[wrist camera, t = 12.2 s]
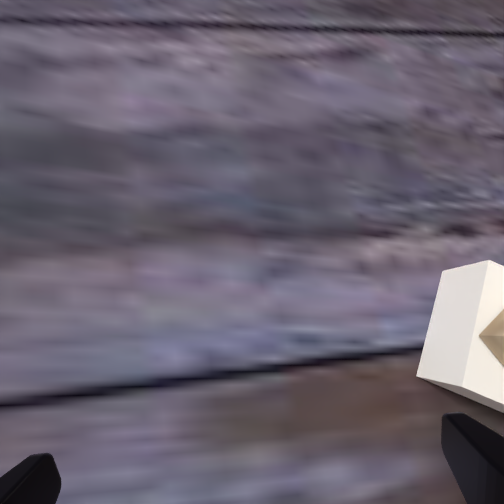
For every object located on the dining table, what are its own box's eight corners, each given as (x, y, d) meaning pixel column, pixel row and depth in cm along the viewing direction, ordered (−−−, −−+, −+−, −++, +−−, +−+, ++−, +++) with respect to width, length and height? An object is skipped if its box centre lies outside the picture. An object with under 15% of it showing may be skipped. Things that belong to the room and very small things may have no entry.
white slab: (515, 418, 21) (586, 439, 17) (413, 375, 20) (461, 386, 17) (533, 312, 22) (601, 309, 19) (439, 271, 22) (488, 259, 18)
